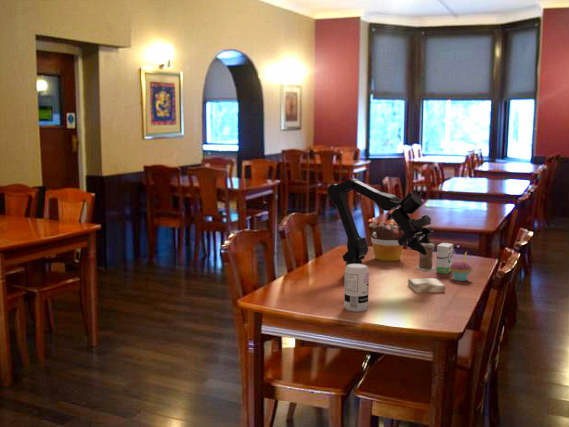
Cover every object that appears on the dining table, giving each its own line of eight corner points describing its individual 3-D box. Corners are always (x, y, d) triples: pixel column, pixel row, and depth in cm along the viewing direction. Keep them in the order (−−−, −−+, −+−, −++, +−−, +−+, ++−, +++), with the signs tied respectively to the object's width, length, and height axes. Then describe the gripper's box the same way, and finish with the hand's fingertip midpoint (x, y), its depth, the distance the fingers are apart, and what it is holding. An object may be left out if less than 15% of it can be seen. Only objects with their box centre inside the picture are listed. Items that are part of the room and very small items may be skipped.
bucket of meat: (364, 261, 291) (365, 218, 288) (370, 254, 307) (372, 213, 304) (408, 264, 285) (409, 220, 282) (412, 257, 300) (414, 215, 297)
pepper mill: (424, 271, 240) (424, 245, 239) (415, 269, 245) (416, 243, 244) (435, 270, 243) (436, 244, 241) (426, 267, 247) (427, 242, 246)
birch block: (416, 293, 239) (416, 285, 238) (408, 286, 250) (408, 278, 249) (444, 293, 240) (445, 285, 239) (435, 285, 251) (435, 278, 250)
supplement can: (341, 305, 221) (342, 263, 219) (365, 305, 222) (366, 263, 220) (346, 312, 213) (347, 268, 211) (370, 312, 214) (371, 268, 212)
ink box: (447, 274, 267) (448, 246, 266) (435, 272, 270) (436, 245, 268) (452, 270, 275) (453, 243, 273) (441, 268, 277) (442, 242, 276)
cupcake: (471, 278, 261) (473, 249, 260) (470, 282, 253) (471, 253, 252) (450, 276, 264) (451, 247, 262) (448, 280, 256) (449, 251, 254)
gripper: (405, 211, 236) (431, 244, 231) (429, 206, 250) (454, 237, 245) (386, 229, 242) (411, 262, 237) (411, 223, 256) (435, 254, 251)
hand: (429, 253), depth 242 cm, fingers closed on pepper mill, 5 cm apart
